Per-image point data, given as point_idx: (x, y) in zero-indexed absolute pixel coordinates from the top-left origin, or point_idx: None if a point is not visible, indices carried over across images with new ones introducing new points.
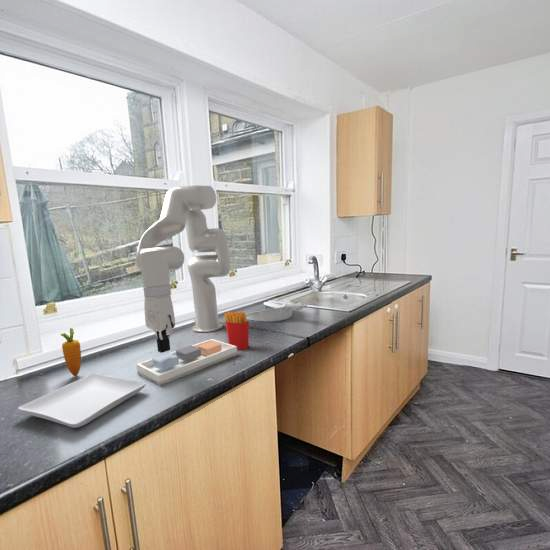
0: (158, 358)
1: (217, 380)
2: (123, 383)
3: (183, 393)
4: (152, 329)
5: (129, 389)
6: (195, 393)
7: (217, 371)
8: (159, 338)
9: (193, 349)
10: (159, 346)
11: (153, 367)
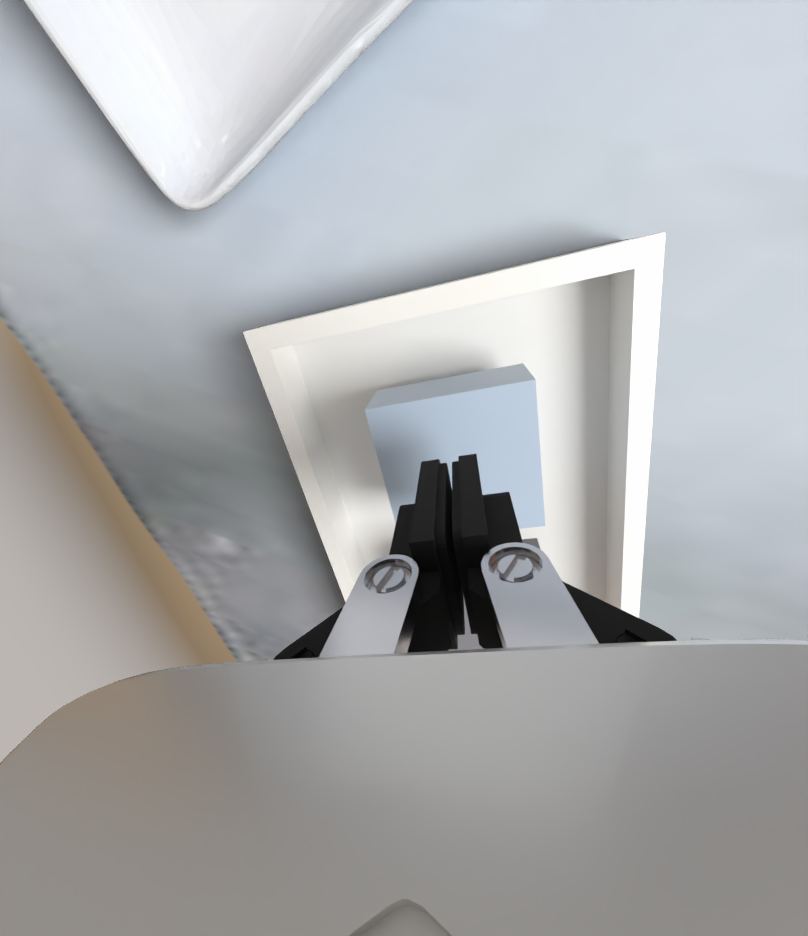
0: (483, 423)
1: (191, 557)
2: (357, 11)
3: (118, 397)
4: (483, 649)
5: (269, 72)
6: (97, 441)
7: (286, 596)
8: (480, 569)
9: (459, 645)
10: (424, 490)
11: (571, 371)
